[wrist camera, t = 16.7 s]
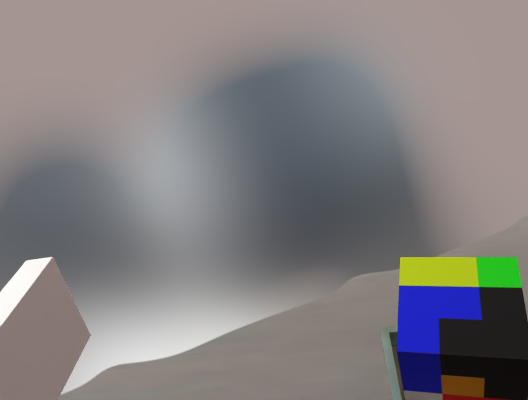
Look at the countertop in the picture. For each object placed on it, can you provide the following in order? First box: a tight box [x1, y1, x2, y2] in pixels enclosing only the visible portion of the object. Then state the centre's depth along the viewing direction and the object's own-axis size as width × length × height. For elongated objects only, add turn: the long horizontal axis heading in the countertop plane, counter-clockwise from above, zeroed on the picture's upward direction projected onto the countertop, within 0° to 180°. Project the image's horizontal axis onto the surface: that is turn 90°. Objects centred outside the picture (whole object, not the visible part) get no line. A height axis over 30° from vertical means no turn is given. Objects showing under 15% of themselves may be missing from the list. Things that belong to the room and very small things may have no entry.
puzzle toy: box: [397, 257, 528, 400], centre depth 45 cm, size 10×10×10 cm
